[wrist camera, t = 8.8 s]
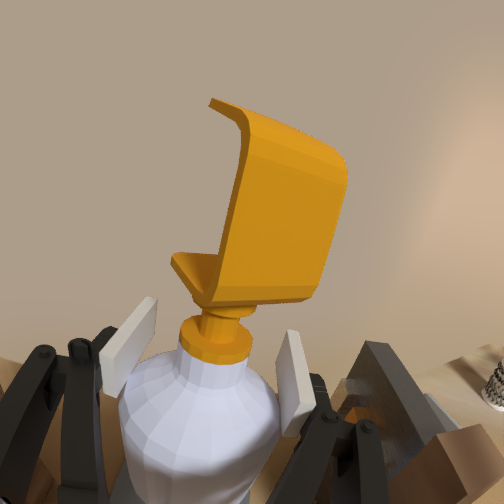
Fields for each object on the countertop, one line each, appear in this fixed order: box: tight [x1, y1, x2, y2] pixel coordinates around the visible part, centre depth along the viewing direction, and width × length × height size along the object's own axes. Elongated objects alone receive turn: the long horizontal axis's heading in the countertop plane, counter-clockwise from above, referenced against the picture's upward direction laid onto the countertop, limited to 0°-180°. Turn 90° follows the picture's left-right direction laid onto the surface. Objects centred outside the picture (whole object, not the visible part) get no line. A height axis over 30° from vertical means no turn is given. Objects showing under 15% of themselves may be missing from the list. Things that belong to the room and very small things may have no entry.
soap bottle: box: [118, 98, 348, 504], centre depth 13 cm, size 9×9×25 cm
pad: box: [109, 457, 250, 504], centre depth 16 cm, size 11×10×1 cm
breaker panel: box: [316, 341, 446, 504], centre depth 17 cm, size 4×12×14 cm, turn 178°
